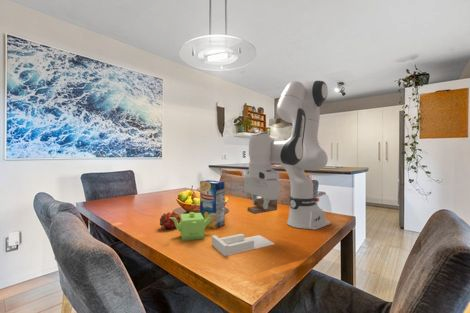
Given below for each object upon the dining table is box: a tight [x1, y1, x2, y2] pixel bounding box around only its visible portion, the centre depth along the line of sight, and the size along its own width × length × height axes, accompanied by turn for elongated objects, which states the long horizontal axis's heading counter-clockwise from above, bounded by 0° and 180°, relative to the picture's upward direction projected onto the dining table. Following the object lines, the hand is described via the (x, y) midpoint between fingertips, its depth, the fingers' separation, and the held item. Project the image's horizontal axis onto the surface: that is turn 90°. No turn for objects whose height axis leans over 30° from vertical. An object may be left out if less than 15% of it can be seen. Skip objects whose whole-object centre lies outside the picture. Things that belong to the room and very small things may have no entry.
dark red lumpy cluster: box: [159, 211, 181, 230], centre depth 115 cm, size 8×8×12 cm
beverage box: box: [199, 179, 226, 229], centre depth 120 cm, size 7×11×22 cm, turn 53°
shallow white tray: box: [211, 233, 275, 257], centre depth 91 cm, size 22×11×5 cm, turn 119°
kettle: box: [170, 211, 211, 242], centre depth 101 cm, size 15×14×11 cm
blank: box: [247, 197, 278, 215], centre depth 95 cm, size 11×5×4 cm, turn 118°
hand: (260, 206), depth 94 cm, fingers closed on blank, 5 cm apart
